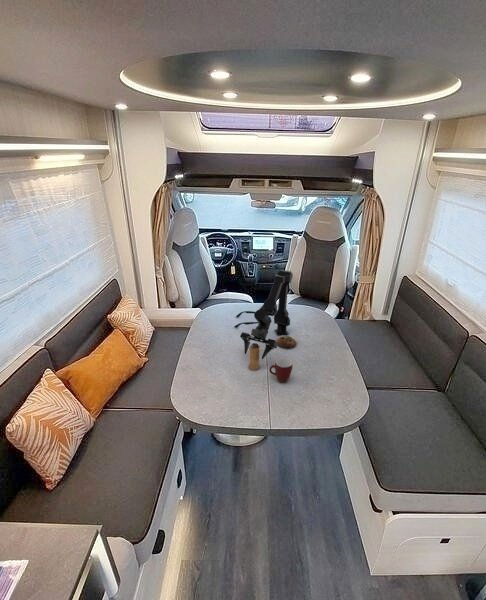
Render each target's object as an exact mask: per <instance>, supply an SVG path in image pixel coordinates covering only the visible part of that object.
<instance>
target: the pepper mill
mask: <svg viewBox="0 0 486 600" xmlns="http://www.w3.org/2000/svg"><path fill="white" fill-rule="evenodd" d="M260 349H261V347H260V345H259V344H258V342H257V343H256V342H254V343H250V345H249V358H248V359H249V361H248V363H249V365H248V367H249V370H251V371H257V370H259V368H260Z"/></svg>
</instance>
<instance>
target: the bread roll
mask: <svg viewBox="0 0 486 600" xmlns="http://www.w3.org/2000/svg"><path fill="white" fill-rule="evenodd" d="M276 342H277V343H278V346H279V347H281V348H283V349H291V348H294V347H295V346H296V345H297V340H296V339H295V338H294V337H292V336H288V335H283V336H281V337H279V338H278V339H277V341H276Z"/></svg>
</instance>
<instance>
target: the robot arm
mask: <svg viewBox="0 0 486 600" xmlns="http://www.w3.org/2000/svg"><path fill="white" fill-rule="evenodd" d="M293 277H294V274H293V272H292V271H291V270H284V269H279V270H278V271H277V272H275V275H274V277H273V278H274V279H273V284H272V287H271V288H270V292H269V294H268V298H267V299H266V300H265V301H264V302H263V304H262V305H261V306H260V308H259V309H257V310H256V311H254V312H255V313H253V317H254V319H255V320H256V322H258V323H257V326H256V327H255V328H251V331H250V333H249V332H244V331H242V332H241V333H240V335H239V338H240V339H241V340H242V341H243V345H244V355H247V353H248V351H249V350H248V349H250V345H251V341H254V342H257V343H261V344H264V345H265V348H264V350H263V353H262V356H261V360H264V358H265V357H266V356H267V355H268V354H269V353H270V352H271V351H272V350H275V349H278V346H279V345H278V343H277V341H276V340H275V339H272V338H268V339H266V338H267V335H268V334H269V329H270V326H271V323H272V317H273V323H274V324H275V325H276V329H274V331H275V333H276V335H277V336H288V335H289V332H288V331H287V328H288V326H290V325H291V319H290V316H289V312H288V309H287V306H288V305H287V302H288V291H289V285H290V284H291V283H292V280H293ZM277 302H278V305H277Z"/></svg>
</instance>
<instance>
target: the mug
mask: <svg viewBox="0 0 486 600" xmlns="http://www.w3.org/2000/svg"><path fill="white" fill-rule="evenodd" d="M272 369H274V370H275V371H274V372H273V371H272ZM268 371H269V373H270V374H271V375H273V376H275V377H276V379H277V380H278V382H279V383H286V382H287V381H288V380H289V379H290V377H291V374H292V371H293V361H292V360H291V358H288V357H278V358H276V359H275V361H274V364H272V365H270V366H269V368H268Z"/></svg>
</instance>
